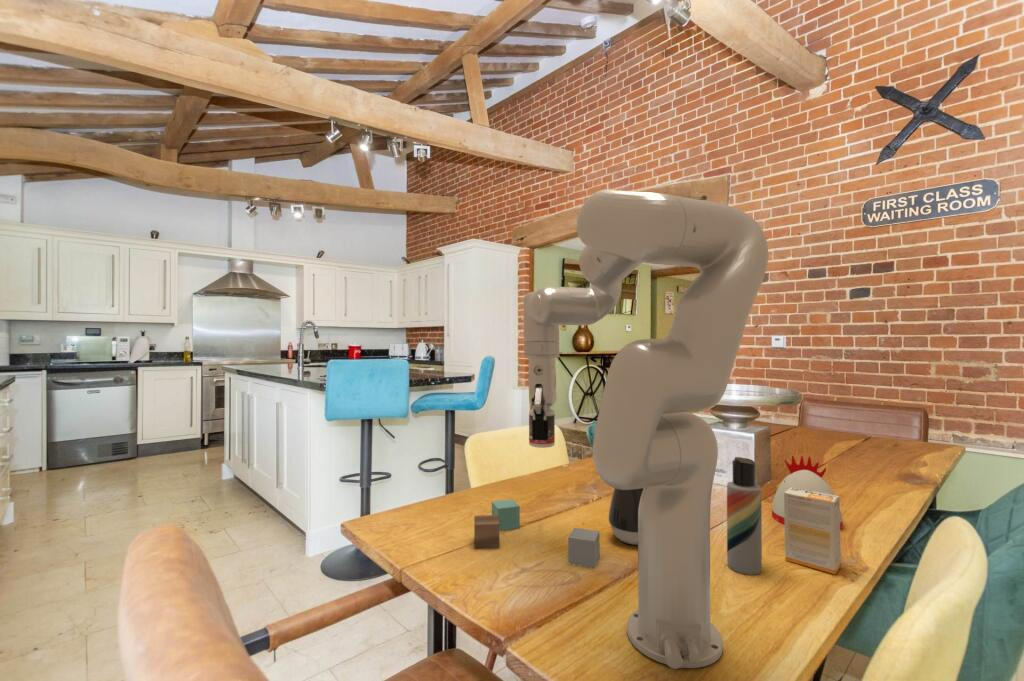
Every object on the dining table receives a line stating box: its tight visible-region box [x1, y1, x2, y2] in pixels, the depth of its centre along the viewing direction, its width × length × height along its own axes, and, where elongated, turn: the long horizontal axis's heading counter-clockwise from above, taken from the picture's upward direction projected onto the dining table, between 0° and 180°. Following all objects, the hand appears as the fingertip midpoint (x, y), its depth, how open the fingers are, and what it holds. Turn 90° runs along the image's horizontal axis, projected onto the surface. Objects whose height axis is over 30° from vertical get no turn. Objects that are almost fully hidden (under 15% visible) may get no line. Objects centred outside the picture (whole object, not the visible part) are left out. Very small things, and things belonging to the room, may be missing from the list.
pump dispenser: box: [608, 488, 644, 546], centre depth 99 cm, size 10×10×15 cm
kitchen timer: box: [771, 455, 844, 531], centre depth 110 cm, size 14×14×15 cm
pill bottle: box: [528, 399, 556, 449], centre depth 99 cm, size 5×5×10 cm
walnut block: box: [473, 514, 500, 550], centre depth 97 cm, size 5×5×5 cm
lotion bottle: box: [726, 456, 763, 575], centre depth 87 cm, size 6×6×20 cm
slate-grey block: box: [567, 527, 601, 569], centre depth 90 cm, size 5×5×5 cm
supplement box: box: [784, 487, 842, 575], centre depth 88 cm, size 8×5×13 cm, turn 44°
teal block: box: [491, 498, 521, 532], centre depth 107 cm, size 5×5×5 cm
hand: (542, 435), depth 99 cm, fingers closed on pill bottle, 5 cm apart
